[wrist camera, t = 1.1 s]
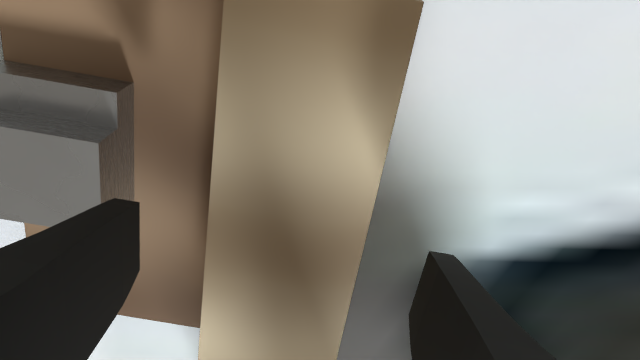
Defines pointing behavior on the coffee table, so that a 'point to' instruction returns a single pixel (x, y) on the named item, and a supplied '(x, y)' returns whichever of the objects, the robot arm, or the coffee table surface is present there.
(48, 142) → the gray stepped block
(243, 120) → the beech bar
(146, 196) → the board
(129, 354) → the coffee table surface
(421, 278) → the robot arm
